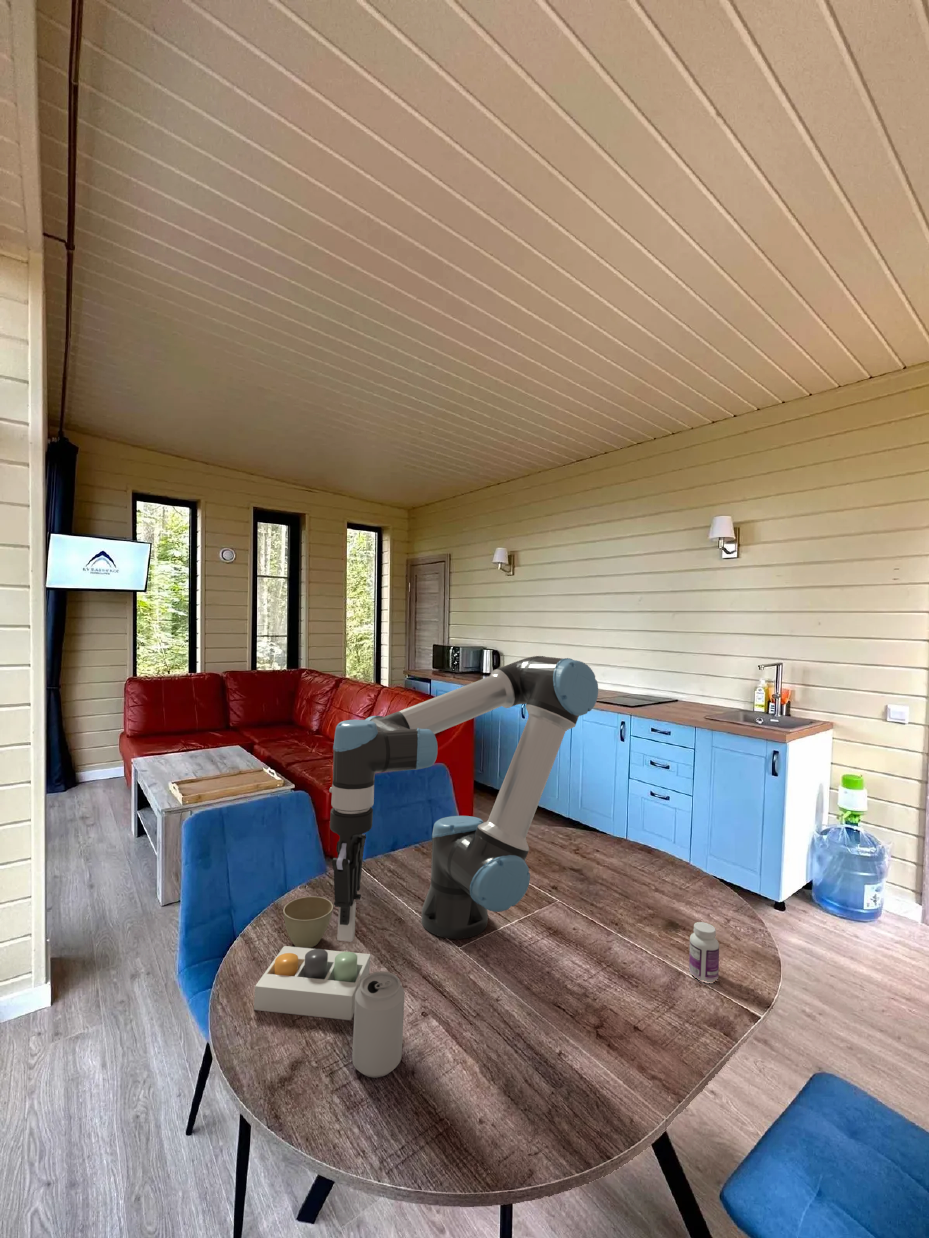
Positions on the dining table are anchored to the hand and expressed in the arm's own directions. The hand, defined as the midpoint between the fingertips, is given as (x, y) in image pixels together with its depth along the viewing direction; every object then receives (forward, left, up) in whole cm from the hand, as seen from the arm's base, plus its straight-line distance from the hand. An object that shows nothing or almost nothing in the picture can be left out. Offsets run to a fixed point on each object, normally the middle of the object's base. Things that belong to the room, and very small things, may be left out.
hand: (345, 938), depth 98 cm
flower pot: (+12, -15, -10) cm, 22 cm away
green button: (0, 0, -8) cm, 8 cm away
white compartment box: (+5, 0, -10) cm, 11 cm away
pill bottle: (-68, -16, -10) cm, 71 cm away
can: (-10, +14, -10) cm, 20 cm away
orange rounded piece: (+11, 0, -9) cm, 14 cm away
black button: (+5, 0, -8) cm, 9 cm away
